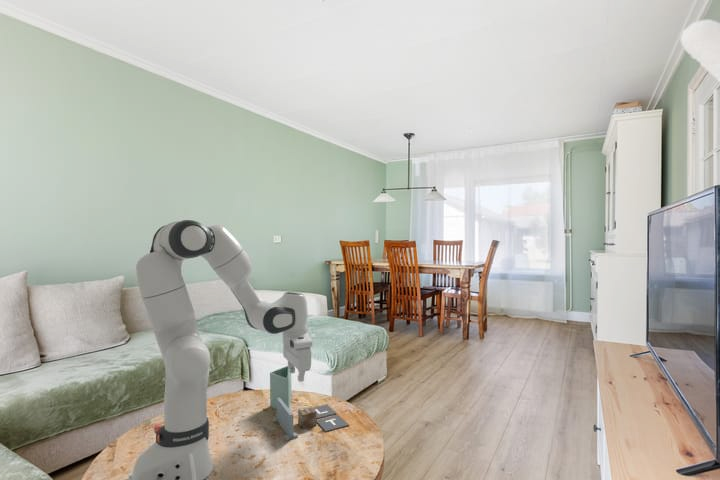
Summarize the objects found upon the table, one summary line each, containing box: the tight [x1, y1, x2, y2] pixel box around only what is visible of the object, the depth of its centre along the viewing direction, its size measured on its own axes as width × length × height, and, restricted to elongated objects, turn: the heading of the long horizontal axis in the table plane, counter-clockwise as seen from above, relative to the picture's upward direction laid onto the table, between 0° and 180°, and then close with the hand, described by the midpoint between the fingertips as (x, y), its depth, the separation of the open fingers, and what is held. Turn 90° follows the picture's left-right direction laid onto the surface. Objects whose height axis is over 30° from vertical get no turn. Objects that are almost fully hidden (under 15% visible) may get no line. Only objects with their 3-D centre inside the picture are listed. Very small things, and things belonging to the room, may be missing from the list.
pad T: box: [316, 414, 350, 433], centre depth 134 cm, size 9×9×1 cm
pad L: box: [312, 404, 338, 420], centre depth 143 cm, size 9×9×1 cm
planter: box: [269, 365, 292, 410], centre depth 150 cm, size 16×8×20 cm, turn 7°
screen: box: [272, 397, 299, 441], centre depth 131 cm, size 4×16×8 cm, turn 28°
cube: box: [297, 406, 317, 430], centre depth 134 cm, size 5×5×5 cm
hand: (296, 376), depth 132 cm, fingers open, 8 cm apart
